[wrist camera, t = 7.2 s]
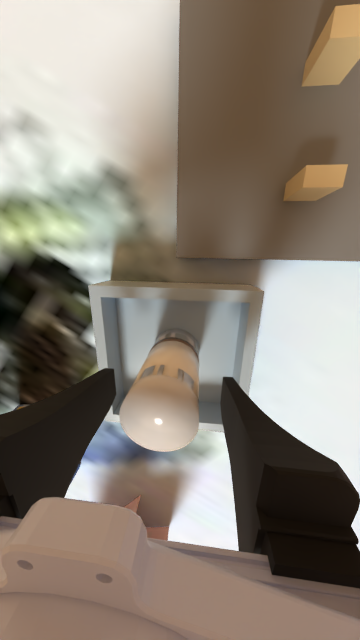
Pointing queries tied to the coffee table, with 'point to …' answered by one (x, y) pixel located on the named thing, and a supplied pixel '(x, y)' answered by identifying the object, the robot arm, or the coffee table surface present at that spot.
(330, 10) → the flat gray square panel
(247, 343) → the parts tray
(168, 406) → the led light bulb
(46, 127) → the coffee table surface
